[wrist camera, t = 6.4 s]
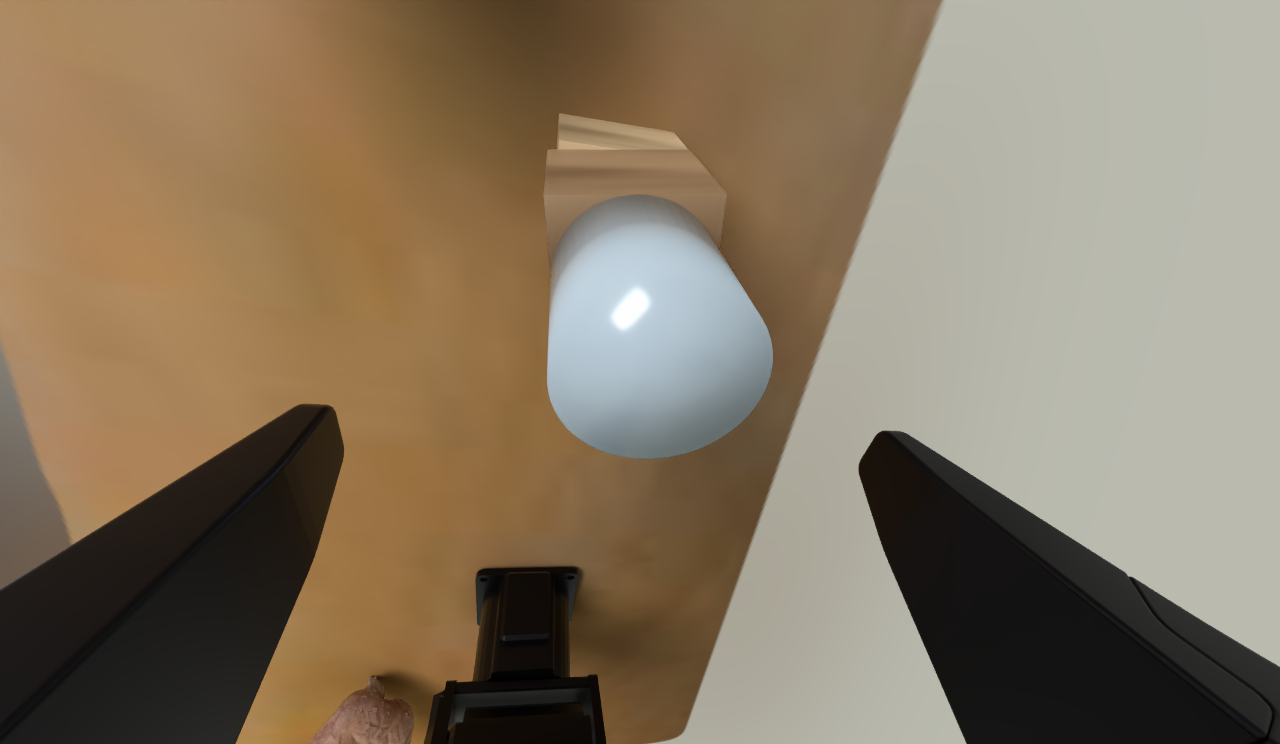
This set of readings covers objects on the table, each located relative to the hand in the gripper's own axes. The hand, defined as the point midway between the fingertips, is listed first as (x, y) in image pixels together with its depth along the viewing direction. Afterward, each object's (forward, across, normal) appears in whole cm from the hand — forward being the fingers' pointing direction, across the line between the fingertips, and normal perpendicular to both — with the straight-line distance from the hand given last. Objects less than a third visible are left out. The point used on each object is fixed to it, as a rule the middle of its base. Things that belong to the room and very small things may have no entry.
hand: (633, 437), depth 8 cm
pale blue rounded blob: (+5, 0, 0) cm, 5 cm away
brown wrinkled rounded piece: (+13, +12, +40) cm, 43 cm away
